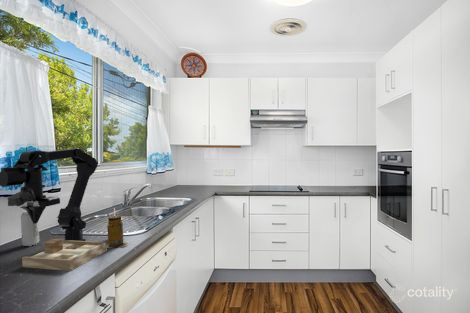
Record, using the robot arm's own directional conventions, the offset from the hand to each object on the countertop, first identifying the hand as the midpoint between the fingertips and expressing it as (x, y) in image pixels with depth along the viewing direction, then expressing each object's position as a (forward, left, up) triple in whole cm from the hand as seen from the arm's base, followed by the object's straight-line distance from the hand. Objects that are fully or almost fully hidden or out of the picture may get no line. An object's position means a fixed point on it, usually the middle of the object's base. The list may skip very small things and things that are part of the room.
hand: (35, 223), depth 104 cm
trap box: (0, +14, -13) cm, 19 cm away
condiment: (-16, +24, -13) cm, 32 cm away
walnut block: (0, +8, -10) cm, 13 cm away
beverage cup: (-24, +17, -13) cm, 32 cm away
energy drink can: (-11, -16, -13) cm, 23 cm away
